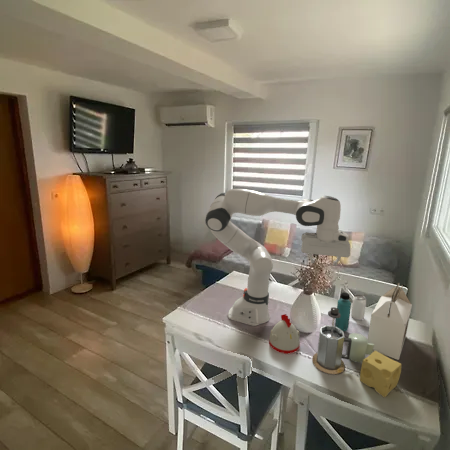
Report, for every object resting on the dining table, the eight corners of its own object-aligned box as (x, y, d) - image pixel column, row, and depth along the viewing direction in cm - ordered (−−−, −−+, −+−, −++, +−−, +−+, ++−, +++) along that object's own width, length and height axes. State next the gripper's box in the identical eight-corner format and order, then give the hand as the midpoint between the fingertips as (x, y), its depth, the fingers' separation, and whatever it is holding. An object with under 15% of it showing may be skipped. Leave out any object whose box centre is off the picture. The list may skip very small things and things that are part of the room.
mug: (347, 360, 125) (350, 342, 123) (345, 349, 133) (347, 331, 130) (372, 365, 123) (376, 346, 121) (369, 353, 130) (372, 335, 128)
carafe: (312, 370, 119) (316, 338, 115) (311, 350, 131) (315, 320, 127) (349, 378, 115) (354, 345, 112) (345, 356, 128) (349, 326, 124)
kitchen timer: (277, 356, 127) (279, 326, 124) (264, 337, 140) (265, 309, 136) (305, 350, 131) (308, 321, 127) (290, 332, 144) (292, 305, 140)
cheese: (385, 398, 106) (389, 375, 104) (357, 380, 115) (360, 358, 112) (398, 385, 112) (402, 363, 110) (371, 369, 121) (374, 348, 118)
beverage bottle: (349, 334, 143) (354, 297, 138) (335, 332, 144) (339, 296, 139) (346, 327, 149) (351, 291, 144) (333, 325, 151) (337, 290, 146)
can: (351, 319, 156) (354, 299, 153) (350, 313, 162) (353, 293, 159) (364, 321, 154) (367, 301, 151) (363, 315, 160) (365, 295, 157)
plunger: (322, 340, 118) (326, 312, 115) (321, 330, 125) (324, 303, 121) (341, 344, 116) (345, 315, 113) (339, 333, 123) (343, 306, 120)
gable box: (398, 360, 126) (409, 302, 119) (365, 348, 134) (374, 292, 127) (405, 336, 143) (416, 284, 136) (376, 326, 151) (384, 276, 144)
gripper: (301, 233, 124) (299, 264, 128) (353, 238, 119) (349, 269, 123) (302, 230, 130) (299, 259, 134) (350, 234, 125) (347, 264, 129)
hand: (323, 264), depth 128 cm, fingers open, 8 cm apart
